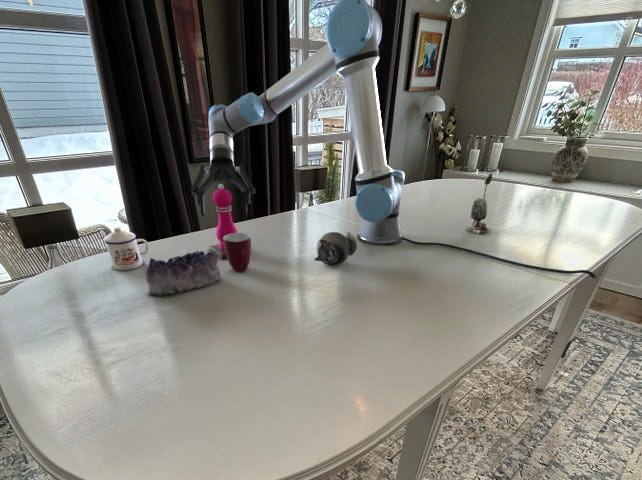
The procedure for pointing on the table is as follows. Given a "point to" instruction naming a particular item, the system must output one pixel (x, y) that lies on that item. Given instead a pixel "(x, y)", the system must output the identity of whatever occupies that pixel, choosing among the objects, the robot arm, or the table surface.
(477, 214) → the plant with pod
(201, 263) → the geode
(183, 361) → the table surface
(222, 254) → the grey angular chunk
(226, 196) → the pepper mill
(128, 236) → the teacup with lid
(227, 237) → the mug
